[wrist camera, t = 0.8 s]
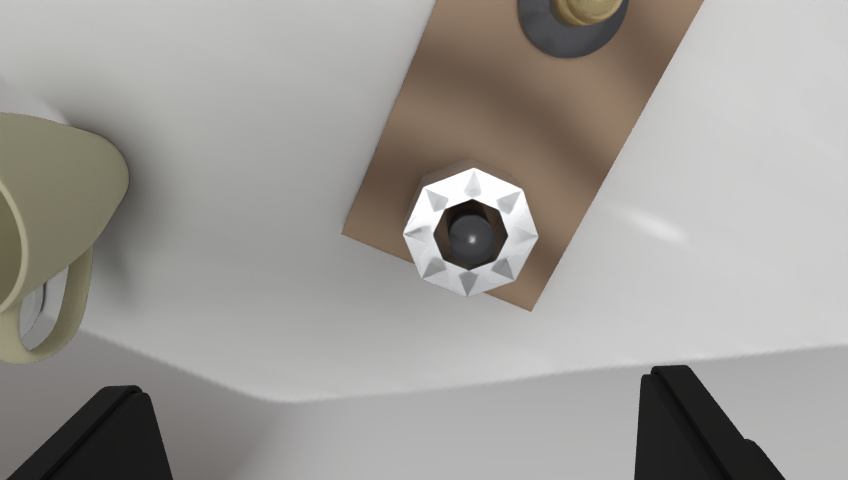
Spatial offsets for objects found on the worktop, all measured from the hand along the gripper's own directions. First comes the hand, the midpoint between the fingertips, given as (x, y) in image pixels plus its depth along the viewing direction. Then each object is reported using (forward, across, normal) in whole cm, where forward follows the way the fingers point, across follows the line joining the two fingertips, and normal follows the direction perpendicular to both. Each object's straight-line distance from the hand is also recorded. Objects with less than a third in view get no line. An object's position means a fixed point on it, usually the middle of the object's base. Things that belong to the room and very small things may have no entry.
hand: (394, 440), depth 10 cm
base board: (+24, -5, -3) cm, 25 cm away
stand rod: (+23, -2, +2) cm, 23 cm away
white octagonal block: (+23, -2, +2) cm, 23 cm away
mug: (+23, +20, -1) cm, 31 cm away
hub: (+23, -8, -9) cm, 26 cm away
